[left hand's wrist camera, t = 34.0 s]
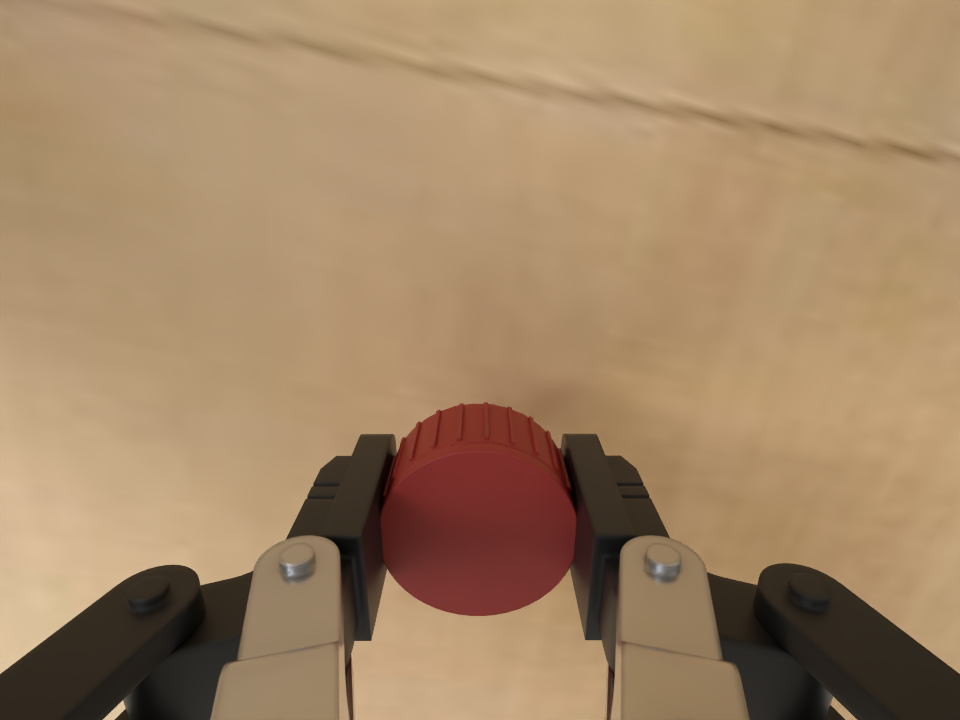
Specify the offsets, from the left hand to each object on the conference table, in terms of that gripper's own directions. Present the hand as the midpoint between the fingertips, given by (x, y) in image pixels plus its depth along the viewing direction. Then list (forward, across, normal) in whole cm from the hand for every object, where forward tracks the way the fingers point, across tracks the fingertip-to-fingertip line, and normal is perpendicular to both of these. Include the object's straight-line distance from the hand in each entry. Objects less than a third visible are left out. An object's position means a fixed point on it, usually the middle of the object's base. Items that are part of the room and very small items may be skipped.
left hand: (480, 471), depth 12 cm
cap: (-2, 0, 0) cm, 2 cm away
